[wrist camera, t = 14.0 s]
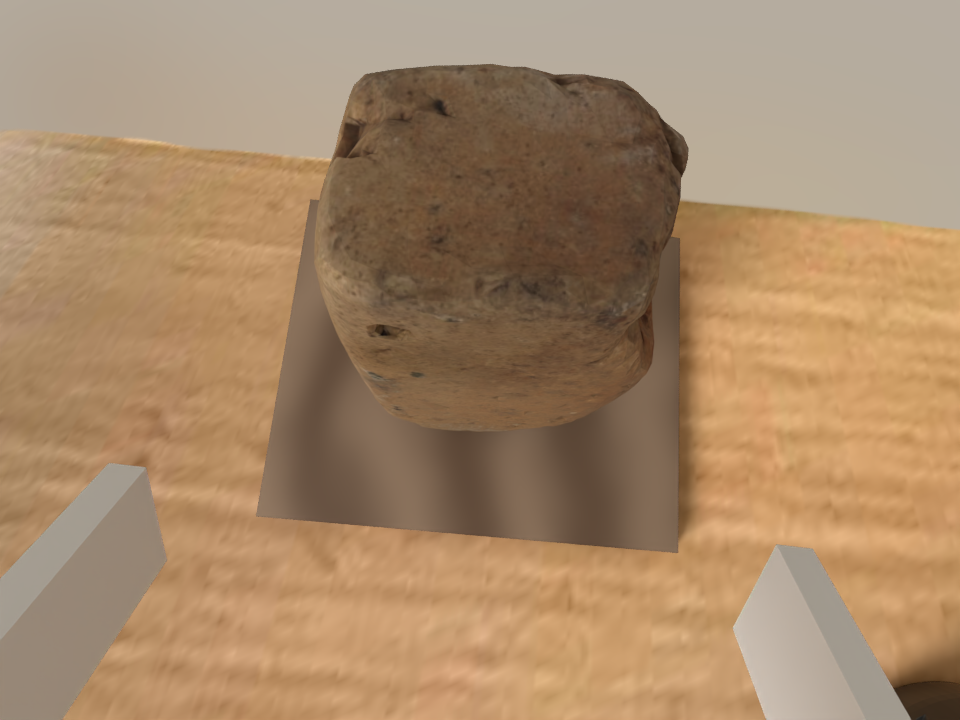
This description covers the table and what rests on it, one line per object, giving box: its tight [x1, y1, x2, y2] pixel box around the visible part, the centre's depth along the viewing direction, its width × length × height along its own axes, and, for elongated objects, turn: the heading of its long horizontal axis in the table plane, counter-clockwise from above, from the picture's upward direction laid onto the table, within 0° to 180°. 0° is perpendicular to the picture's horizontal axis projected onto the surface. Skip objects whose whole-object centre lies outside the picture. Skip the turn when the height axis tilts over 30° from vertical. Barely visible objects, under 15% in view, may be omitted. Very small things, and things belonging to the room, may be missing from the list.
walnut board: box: [256, 200, 680, 553], centre depth 33 cm, size 22×18×2 cm
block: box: [314, 64, 688, 432], centre depth 22 cm, size 11×8×20 cm
